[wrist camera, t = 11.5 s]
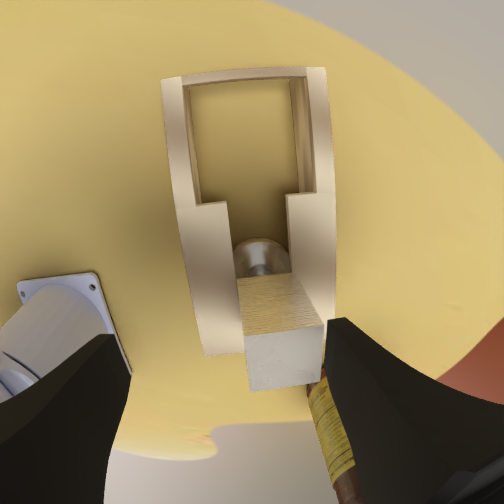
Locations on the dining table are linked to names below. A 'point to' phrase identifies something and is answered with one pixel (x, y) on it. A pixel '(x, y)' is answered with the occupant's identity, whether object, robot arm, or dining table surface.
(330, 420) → the sauce bottle
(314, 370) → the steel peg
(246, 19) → the dining table surface
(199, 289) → the beige wooden frame
